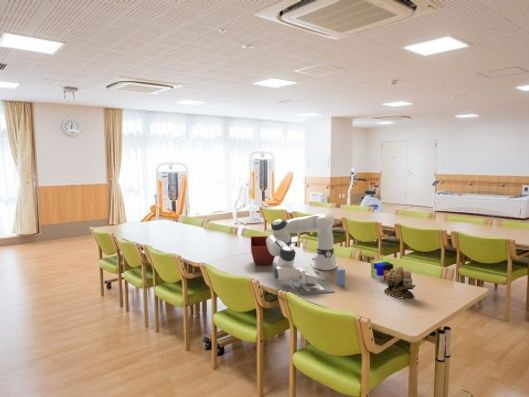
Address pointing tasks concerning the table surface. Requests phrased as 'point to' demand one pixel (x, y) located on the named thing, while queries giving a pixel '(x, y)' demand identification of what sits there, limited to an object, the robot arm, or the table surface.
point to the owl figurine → (399, 283)
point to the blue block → (340, 276)
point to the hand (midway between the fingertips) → (322, 275)
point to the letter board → (313, 288)
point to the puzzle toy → (380, 269)
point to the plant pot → (261, 251)
